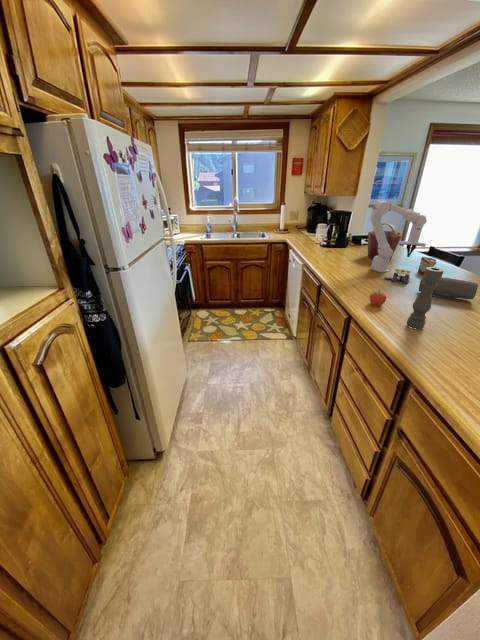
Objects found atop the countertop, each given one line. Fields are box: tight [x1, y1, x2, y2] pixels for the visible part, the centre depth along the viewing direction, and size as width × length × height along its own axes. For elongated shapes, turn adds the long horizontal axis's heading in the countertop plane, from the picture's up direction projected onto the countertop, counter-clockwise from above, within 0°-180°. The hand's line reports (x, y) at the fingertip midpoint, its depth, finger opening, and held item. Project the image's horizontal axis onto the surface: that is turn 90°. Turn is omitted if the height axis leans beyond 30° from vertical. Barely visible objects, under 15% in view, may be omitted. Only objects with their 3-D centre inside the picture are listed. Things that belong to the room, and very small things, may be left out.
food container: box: [417, 256, 437, 277], centre depth 166 cm, size 12×6×10 cm, turn 168°
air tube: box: [384, 273, 411, 283], centre depth 159 cm, size 13×3×3 cm, turn 57°
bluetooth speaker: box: [418, 276, 479, 300], centre depth 135 cm, size 23×9×10 cm, turn 59°
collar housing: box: [391, 268, 412, 285], centre depth 157 cm, size 8×9×6 cm
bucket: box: [367, 222, 403, 260], centre depth 198 cm, size 24×22×25 cm
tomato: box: [369, 289, 387, 307], centre depth 128 cm, size 7×7×8 cm
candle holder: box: [406, 266, 445, 330], centre depth 105 cm, size 6×6×25 cm
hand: (408, 256), depth 171 cm, fingers closed
